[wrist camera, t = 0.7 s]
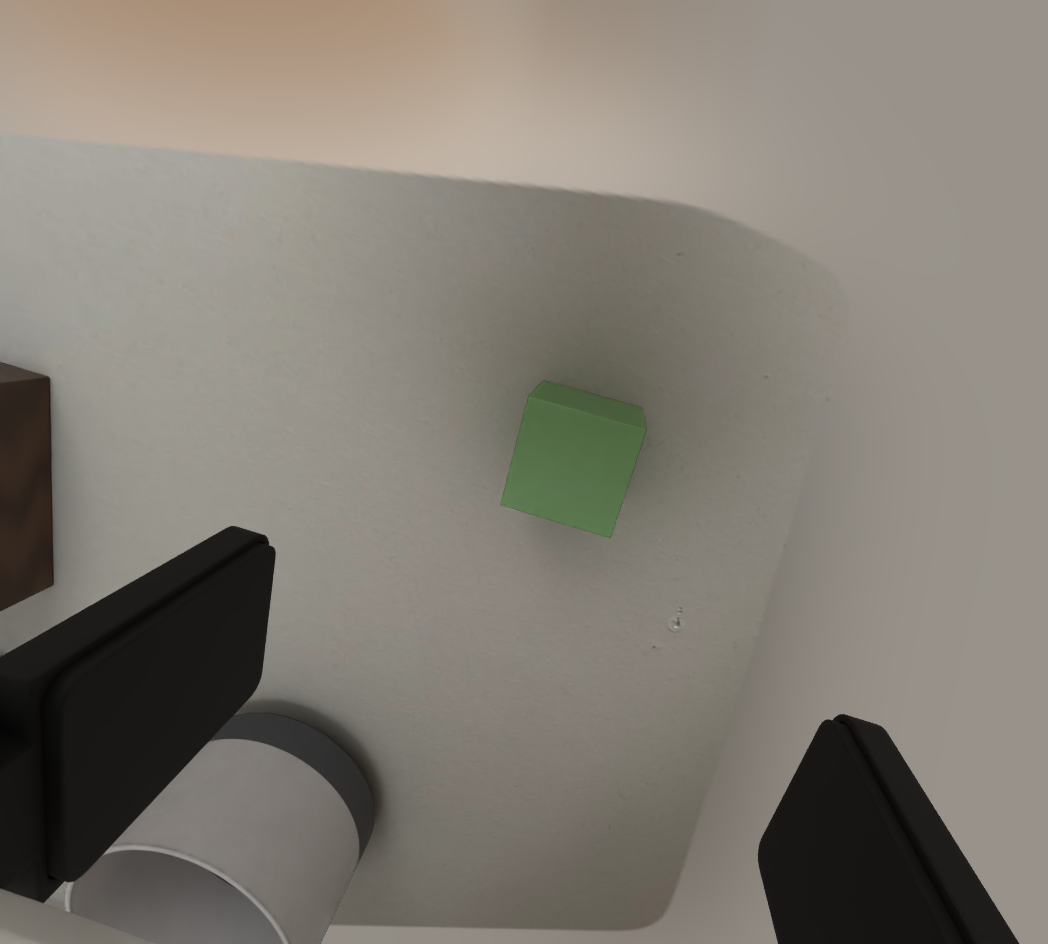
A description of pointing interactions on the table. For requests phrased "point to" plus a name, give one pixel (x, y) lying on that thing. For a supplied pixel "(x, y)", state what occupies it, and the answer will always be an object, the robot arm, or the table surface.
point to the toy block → (574, 457)
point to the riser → (24, 485)
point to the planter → (238, 843)
